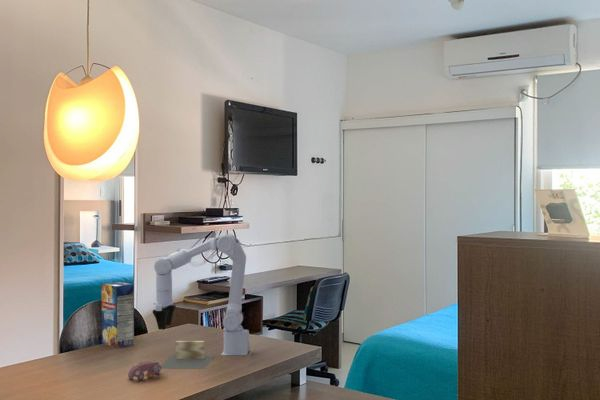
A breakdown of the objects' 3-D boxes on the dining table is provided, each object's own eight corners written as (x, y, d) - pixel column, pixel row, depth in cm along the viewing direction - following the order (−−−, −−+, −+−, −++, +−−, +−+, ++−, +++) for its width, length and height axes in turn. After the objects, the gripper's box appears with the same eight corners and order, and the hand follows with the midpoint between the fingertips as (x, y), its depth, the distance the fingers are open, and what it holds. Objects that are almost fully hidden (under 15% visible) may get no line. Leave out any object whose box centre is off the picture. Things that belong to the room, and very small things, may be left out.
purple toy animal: (130, 386, 180) (132, 368, 178) (126, 376, 184) (129, 359, 181) (160, 381, 185) (164, 363, 183) (156, 371, 189) (159, 354, 186)
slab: (204, 357, 206) (204, 340, 206) (203, 358, 204) (203, 341, 204) (176, 357, 206) (176, 340, 206) (175, 358, 204) (175, 341, 204)
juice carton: (101, 343, 231) (101, 283, 232) (118, 340, 237) (118, 281, 237) (116, 348, 223) (116, 286, 223) (134, 344, 228) (133, 284, 229)
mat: (215, 356, 209) (215, 354, 209) (204, 370, 191) (204, 368, 191) (171, 356, 210) (171, 354, 210) (156, 370, 192) (156, 368, 192)
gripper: (159, 287, 222) (160, 323, 222) (147, 293, 207) (147, 331, 207) (177, 287, 221) (178, 323, 221) (166, 293, 207) (167, 331, 207)
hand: (164, 327), depth 214 cm, fingers open, 7 cm apart
